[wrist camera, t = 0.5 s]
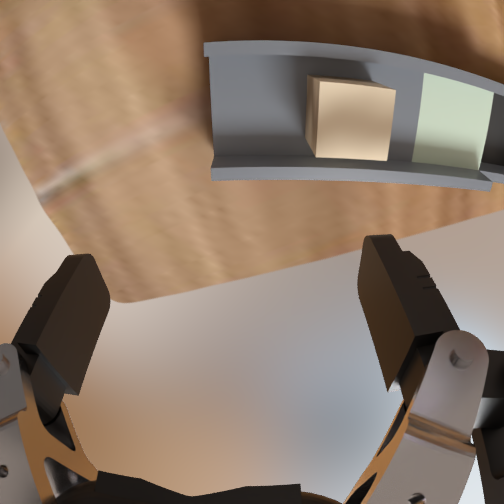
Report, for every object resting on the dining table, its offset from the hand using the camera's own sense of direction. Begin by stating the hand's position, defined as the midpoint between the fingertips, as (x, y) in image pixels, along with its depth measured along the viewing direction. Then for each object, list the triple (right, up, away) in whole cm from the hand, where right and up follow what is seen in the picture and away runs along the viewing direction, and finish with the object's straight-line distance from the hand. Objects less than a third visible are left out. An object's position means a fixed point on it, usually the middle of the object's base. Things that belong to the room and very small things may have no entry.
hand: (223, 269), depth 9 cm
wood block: (+7, +11, +13) cm, 19 cm away
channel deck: (+14, +13, +15) cm, 25 cm away
